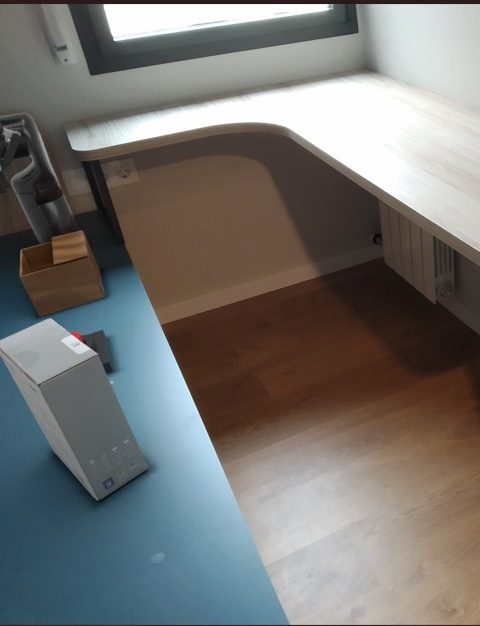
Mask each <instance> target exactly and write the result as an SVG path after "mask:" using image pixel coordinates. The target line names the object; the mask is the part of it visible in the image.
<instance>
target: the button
mask: <svg viewBox="0 0 480 626" xmlns="http://www.w3.org/2000/svg"><path fill="white" fill-rule="evenodd" d="M69 333H70V334H72V335H73V336H75V337H76V338H77V339H79V340H80V341H81V342H83V343H84V341H83V339H82V337H81V335H82V334H81V333H80V332H79V331H78V332H77V331H71V332H69ZM84 344H85V343H84Z"/></svg>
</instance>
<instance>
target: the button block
mask: <svg viewBox="0 0 480 626" xmlns="http://www.w3.org/2000/svg"><path fill="white" fill-rule="evenodd" d="M80 335H81V337H82V339H83V341H84V343H85V345H87V346H88V347H89V348H91V349H92V350H93V351H94V352H96V353H97V354H98V356H99V359H100V361H101V363H102V365H103V368H104V370H105V372H106V374H107V375H108V374H110V373H114V367H113V362H112V357H111V353H110V347H109V342H108V338H107V336H106V333H105V331H104V329H101V330H97V331H94V332H91V333H88V334H80Z"/></svg>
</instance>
